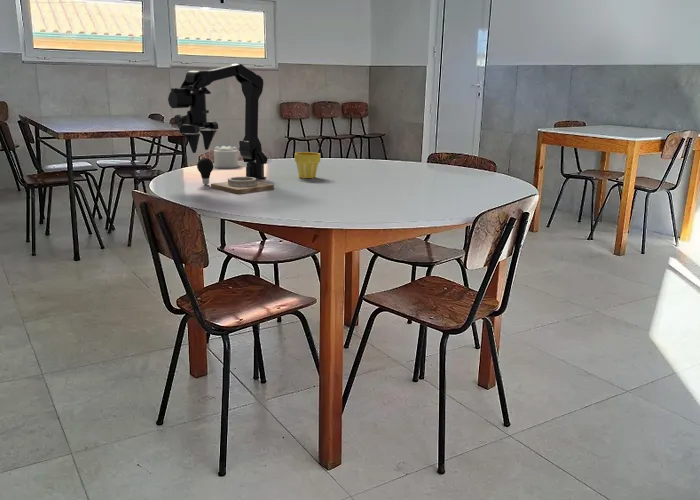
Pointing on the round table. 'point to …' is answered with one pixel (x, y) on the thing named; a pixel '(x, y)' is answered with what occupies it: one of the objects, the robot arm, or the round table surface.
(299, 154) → the plant pot
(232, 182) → the socket base
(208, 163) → the light bulb
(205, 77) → the robot arm
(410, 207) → the round table surface
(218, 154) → the lumpy-topped squat cylinder
